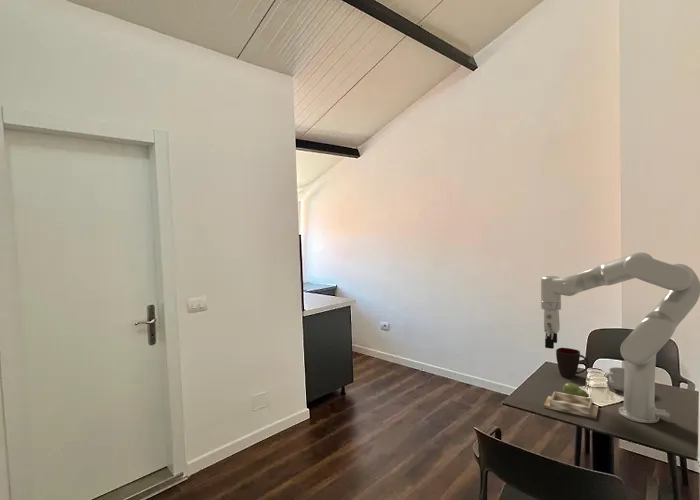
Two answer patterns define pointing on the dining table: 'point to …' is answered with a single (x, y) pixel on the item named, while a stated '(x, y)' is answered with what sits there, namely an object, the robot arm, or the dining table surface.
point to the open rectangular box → (572, 404)
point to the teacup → (616, 378)
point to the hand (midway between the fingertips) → (551, 345)
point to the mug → (569, 361)
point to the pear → (574, 390)
